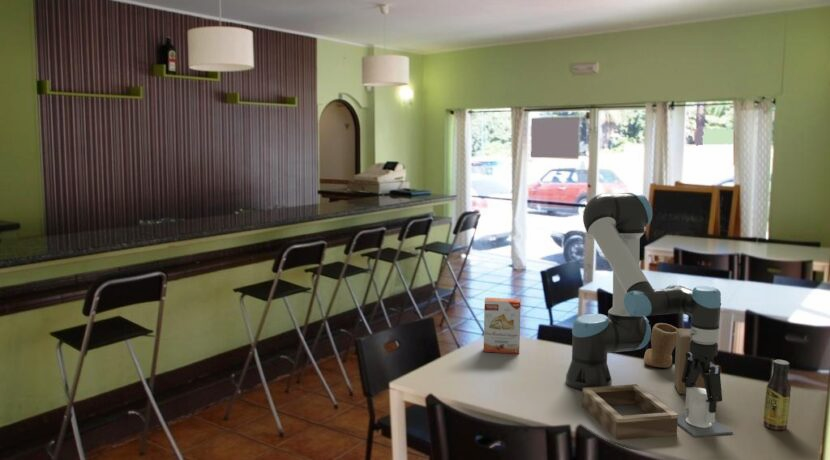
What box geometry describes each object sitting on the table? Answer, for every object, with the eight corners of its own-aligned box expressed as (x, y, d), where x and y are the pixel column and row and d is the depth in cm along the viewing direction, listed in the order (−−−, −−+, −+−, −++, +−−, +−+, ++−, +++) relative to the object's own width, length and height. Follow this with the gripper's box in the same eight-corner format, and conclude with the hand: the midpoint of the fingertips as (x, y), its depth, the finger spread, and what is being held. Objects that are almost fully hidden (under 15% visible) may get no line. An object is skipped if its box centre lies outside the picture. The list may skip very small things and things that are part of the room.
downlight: (683, 425, 196) (687, 392, 195) (683, 415, 203) (687, 384, 201) (713, 431, 194) (717, 398, 192) (712, 421, 200) (716, 389, 198)
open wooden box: (582, 406, 212) (582, 387, 211) (635, 402, 215) (636, 384, 214) (617, 439, 189) (618, 419, 188) (676, 434, 192) (677, 414, 191)
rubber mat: (667, 416, 204) (667, 414, 204) (703, 413, 206) (704, 412, 206) (693, 436, 190) (693, 434, 190) (732, 433, 192) (732, 431, 192)
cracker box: (483, 352, 265) (483, 300, 262) (484, 347, 271) (484, 296, 268) (519, 354, 262) (520, 301, 259) (519, 349, 268) (520, 298, 265)
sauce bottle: (758, 422, 200) (763, 357, 197) (778, 421, 200) (783, 357, 198) (771, 432, 193) (776, 365, 191) (792, 431, 194) (797, 364, 191)
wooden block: (711, 397, 219) (714, 337, 216) (678, 395, 221) (681, 335, 218) (704, 386, 229) (707, 328, 226) (673, 384, 231) (676, 327, 228)
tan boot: (676, 372, 243) (678, 331, 240) (641, 367, 247) (643, 327, 245) (678, 359, 256) (680, 320, 254) (645, 355, 261) (647, 317, 259)
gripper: (671, 330, 205) (667, 401, 208) (714, 353, 183) (710, 432, 187) (694, 329, 206) (690, 400, 209) (739, 351, 185) (734, 430, 188)
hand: (699, 415), depth 198 cm, fingers open, 9 cm apart
